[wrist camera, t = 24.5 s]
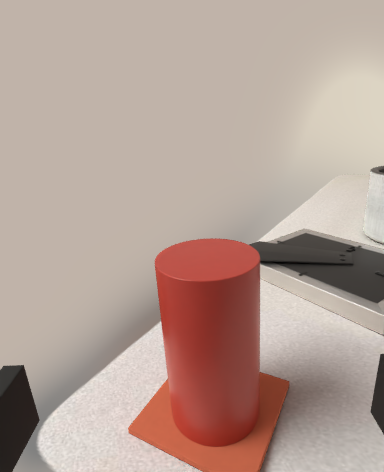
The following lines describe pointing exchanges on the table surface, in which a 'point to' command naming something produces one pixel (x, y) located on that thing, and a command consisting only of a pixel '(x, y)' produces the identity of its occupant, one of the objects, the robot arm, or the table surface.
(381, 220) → the planter
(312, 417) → the table surface
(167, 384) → the terracotta mat
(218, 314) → the red tin
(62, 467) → the table surface
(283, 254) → the picture frame
